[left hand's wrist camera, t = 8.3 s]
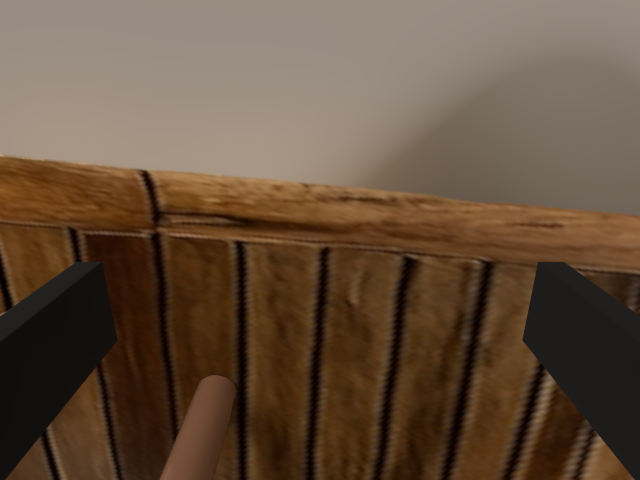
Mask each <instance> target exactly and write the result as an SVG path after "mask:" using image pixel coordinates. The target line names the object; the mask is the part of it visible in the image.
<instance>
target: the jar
mask: <svg viewBox="0 0 640 480" xmlns="http://www.w3.org/2000/svg"><path fill="white" fill-rule="evenodd" d="M236 395H237V391H236V387H235V385H234V384H233V383H232V381H230V380H229V379H227V378H226V377H223V376H219V375H212V376H208V377H205V378H204V379H202V380H201V381H200V383H199V384H198V386H197V389H196V391H195V394H194V396H193V399H192V401H191V403H190V406H189V408H188V411H187V413H186V416H185V418H184V420H183V423H182V425H181V428H180V430H179V433H178V435H177V437H176V440H175V442H174V445H173V447H172V450H171V452H170V454H169V457H168V459H167V462H166V464H165V467H164V469H163V471H162V474H161V476H160V479H159V480H214V476H215V472H216V469H217V465H218V461H219V458H220V454H221V450H222V447H223V443H224V439H225V436H226V432H227V428H228V425H229V421H230V417H231V414H232V410H233V406H234V403H235V399H236Z"/></svg>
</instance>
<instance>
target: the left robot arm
mask: <svg viewBox="0 0 640 480" xmlns="http://www.w3.org/2000/svg"><path fill="white" fill-rule="evenodd" d="M116 341H117V335H116V331H115V326H114V321H113V316H112V311H111V306H110V301H109V296H108V291H107V286H106V281H105V276H104V271H103V266H102V262H76V263H74V264H73V265H71V266H70V267H69V268H67V269H66V270H64V271H63V272H62V273H60V274H59V275H57V276H56V277H54V278H53V279H52V280H50V281H49V282H47V283H46V284H45V285H43V286H42V287H40V288H39V289H38V290H36V291H35V292H33V293H32V294H31V295H29V296H28V297H26V298H25V299H23V300H22V301H21V302H19V303H18V304H16V305H15V306H14V307H12V308H11V309H9V310H8V311H7V312H5V313H4V314H2V315H1V316H0V480H5V479H6V478H7V477H8V475H9V474H10V473H11V472H12V471H13V469H14V468H15V467H16V466H17V464H18V463H19V462H20V461H21V459H22V458H23V457H24V456H25V454H26V453H27V452H28V451H29V449H30V448H31V447H32V446H33V444H34V443H35V442H36V441H37V440H38V438H39V437H40V436H41V435H42V433H43V432H44V431H45V430H46V428H47V427H48V426H49V425H50V423H51V422H52V421H53V420H54V418H55V417H56V416H57V415H58V413H59V412H60V411H61V410H62V408H63V407H64V406H65V405H66V404H67V402H68V401H69V400H70V399H71V397H72V396H73V395H74V394H75V392H76V391H77V390H78V389H79V387H80V386H81V385H82V384H83V382H84V381H85V380H86V379H87V377H88V376H89V375H90V374H91V372H92V371H93V370H94V369H95V368H96V366H97V365H98V364H99V363H100V361H101V360H102V359H103V358H104V356H105V355H106V354H107V353H108V351H109V350H110V349H111V348H112V346H113V345H114V344H115V343H116ZM523 341H524V343H525V344H526V345H527V346H528V348H529V349H530V350H531V351H532V353H533V354H534V355H535V356H536V358H537V359H538V360H539V361H540V363H541V364H542V365H543V366H544V368H545V369H546V370H547V371H548V372H549V374H550V375H551V376H552V377H553V379H554V380H555V381H556V382H557V384H558V385H559V386H560V387H561V389H562V390H563V391H564V392H565V394H566V395H567V396H568V397H569V399H570V400H571V401H572V402H573V404H574V405H575V406H576V407H577V408H578V410H579V411H580V412H581V413H582V415H583V416H584V417H585V418H586V420H587V421H588V422H589V423H590V425H591V426H592V427H593V428H594V430H595V431H596V432H597V433H598V435H599V436H600V437H601V438H602V440H603V441H604V442H605V443H606V444H607V446H608V447H609V448H610V449H611V451H612V452H613V453H614V454H615V456H616V457H617V458H618V459H619V461H620V462H621V463H622V464H623V466H624V467H625V468H626V469H627V471H628V472H629V473H630V474H631V475H632V477H633V478H634V479H635V480H640V316H639V315H638V314H636V313H635V312H633V311H632V310H631V309H629V308H628V307H626V306H625V305H624V304H622V303H621V302H619V301H618V300H617V299H615V298H614V297H612V296H611V295H609V294H608V293H607V292H605V291H604V290H602V289H601V288H600V287H598V286H597V285H595V284H594V283H593V282H591V281H590V280H588V279H587V278H586V277H584V276H583V275H581V274H580V273H578V272H577V271H576V270H574V269H573V268H571V267H570V266H569V265H567V264H566V263H564V262H538V266H537V271H536V276H535V281H534V286H533V291H532V296H531V301H530V306H529V311H528V316H527V321H526V326H525V331H524V335H523Z"/></svg>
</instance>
